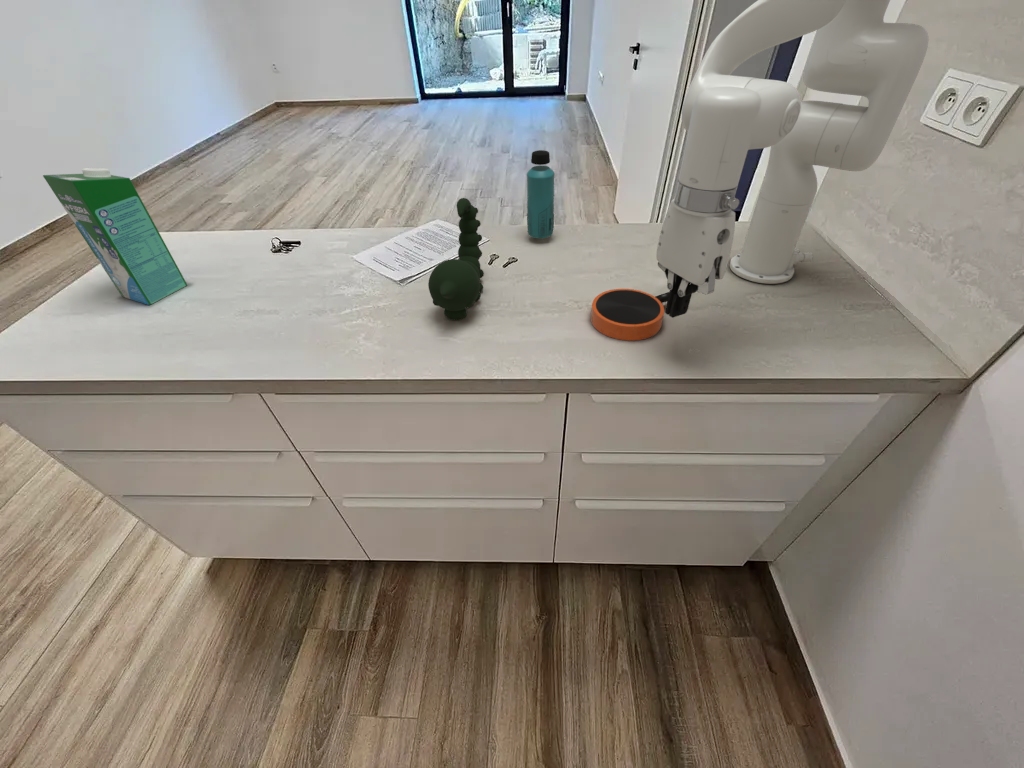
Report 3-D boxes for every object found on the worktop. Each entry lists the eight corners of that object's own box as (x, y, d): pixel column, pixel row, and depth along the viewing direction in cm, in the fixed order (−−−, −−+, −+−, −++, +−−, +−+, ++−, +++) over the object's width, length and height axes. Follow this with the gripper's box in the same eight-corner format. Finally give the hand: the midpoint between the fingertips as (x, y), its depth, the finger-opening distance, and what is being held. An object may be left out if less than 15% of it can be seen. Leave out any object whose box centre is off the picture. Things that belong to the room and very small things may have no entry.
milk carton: (188, 285, 104) (123, 164, 87) (149, 305, 98) (71, 180, 81) (161, 277, 107) (93, 160, 90) (121, 297, 101) (41, 174, 84)
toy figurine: (453, 279, 106) (422, 335, 86) (445, 190, 95) (407, 231, 75) (495, 281, 105) (473, 338, 85) (491, 191, 93) (465, 233, 73)
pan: (618, 348, 82) (620, 334, 80) (577, 313, 91) (578, 299, 89) (705, 316, 89) (709, 302, 87) (659, 286, 98) (661, 273, 96)
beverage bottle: (551, 245, 114) (554, 156, 100) (524, 243, 115) (523, 155, 101) (555, 234, 118) (558, 147, 105) (529, 232, 119) (528, 147, 106)
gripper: (770, 208, 60) (728, 330, 72) (685, 176, 70) (662, 287, 82) (726, 220, 57) (691, 343, 69) (645, 184, 67) (627, 298, 79)
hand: (675, 313), depth 75 cm, fingers closed
